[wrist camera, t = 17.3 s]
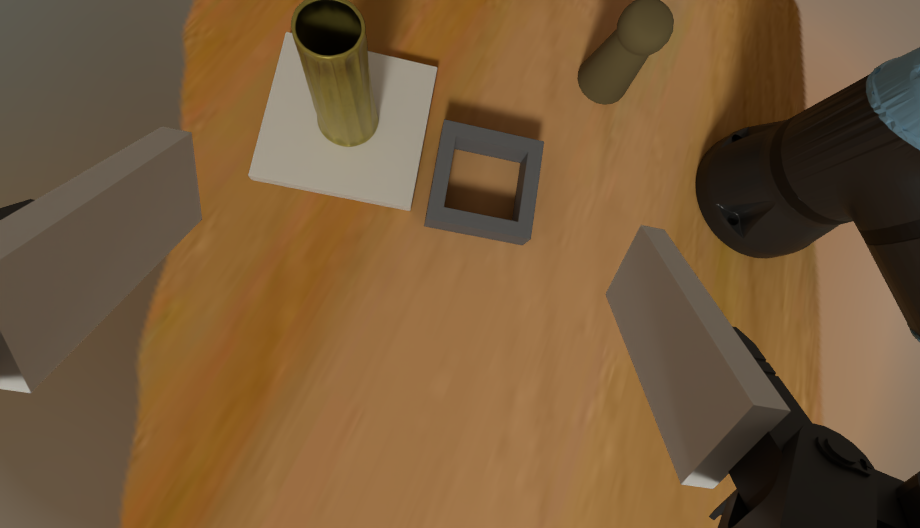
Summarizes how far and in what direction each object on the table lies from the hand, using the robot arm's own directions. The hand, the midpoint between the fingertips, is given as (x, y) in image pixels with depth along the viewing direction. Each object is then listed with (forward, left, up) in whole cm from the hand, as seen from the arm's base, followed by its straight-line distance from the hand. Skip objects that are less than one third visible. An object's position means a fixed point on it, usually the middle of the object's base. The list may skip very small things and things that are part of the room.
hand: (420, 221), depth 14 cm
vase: (+9, -18, -32) cm, 37 cm away
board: (+9, -18, -33) cm, 38 cm away
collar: (-6, -14, -33) cm, 36 cm away
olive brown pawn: (-18, -30, -33) cm, 48 cm away
